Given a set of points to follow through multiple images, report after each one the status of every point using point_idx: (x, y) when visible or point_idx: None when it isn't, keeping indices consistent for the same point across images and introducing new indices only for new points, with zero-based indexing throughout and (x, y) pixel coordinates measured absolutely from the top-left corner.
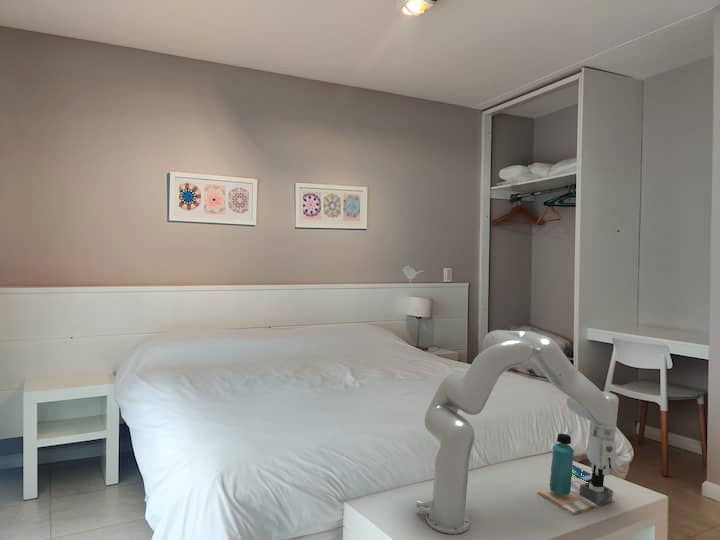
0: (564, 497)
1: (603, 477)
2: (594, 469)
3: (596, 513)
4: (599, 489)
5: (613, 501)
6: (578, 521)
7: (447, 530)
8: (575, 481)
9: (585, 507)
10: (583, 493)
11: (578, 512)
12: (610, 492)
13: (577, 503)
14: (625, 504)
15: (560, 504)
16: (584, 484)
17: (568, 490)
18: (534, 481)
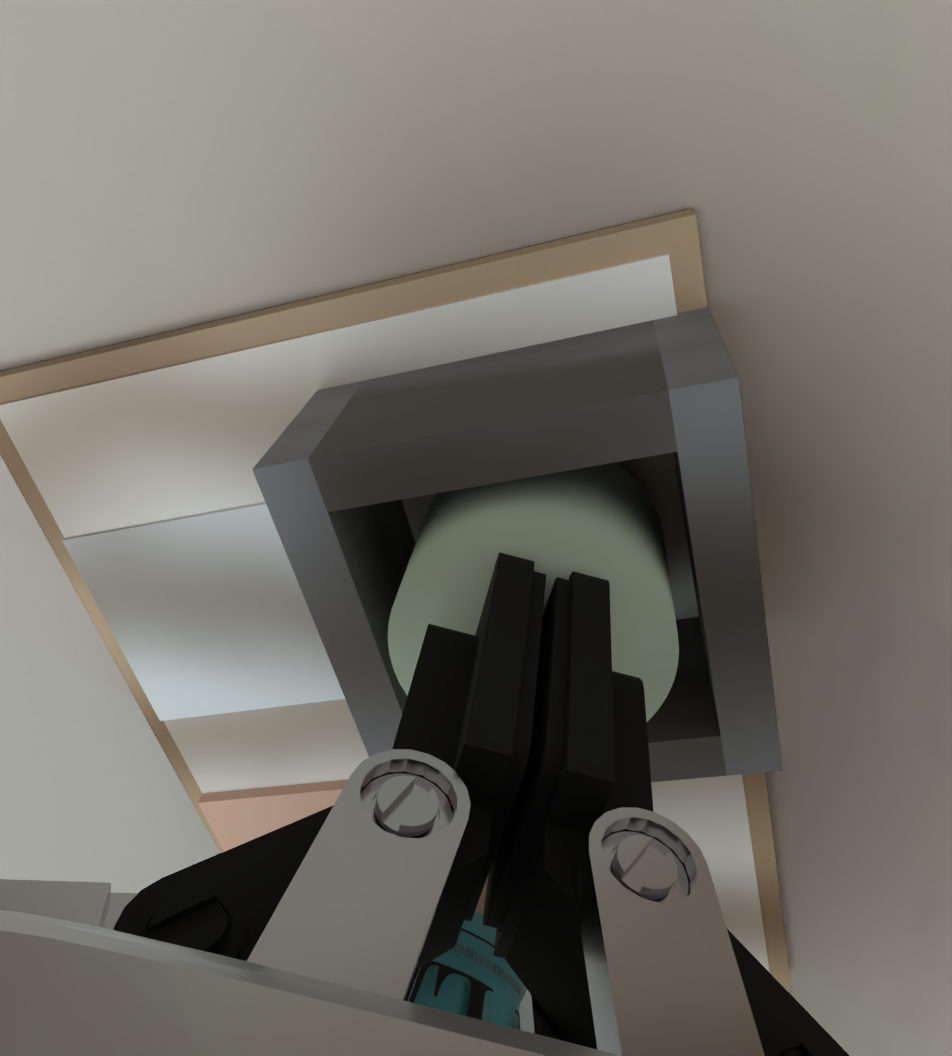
0: (481, 904)
1: (610, 742)
2: (408, 999)
3: (861, 744)
4: (666, 694)
5: (700, 255)
6: (904, 999)
7: None
8: (3, 451)
9: (738, 826)
10: None
11: (784, 931)
12: (746, 455)
13: None
14: (842, 29)
15: None
16: (389, 741)
17: None
18: (45, 874)
